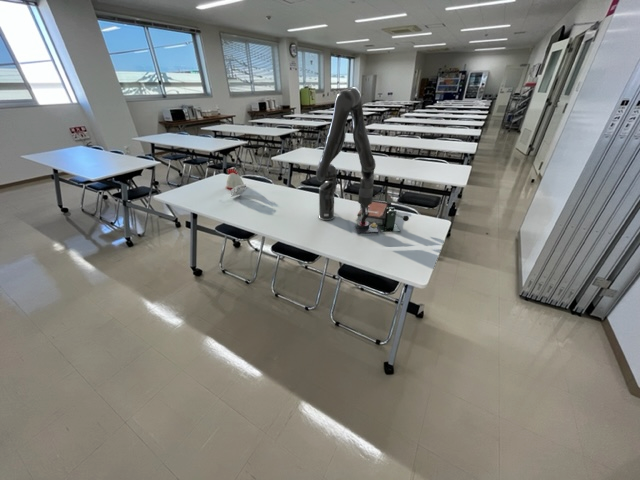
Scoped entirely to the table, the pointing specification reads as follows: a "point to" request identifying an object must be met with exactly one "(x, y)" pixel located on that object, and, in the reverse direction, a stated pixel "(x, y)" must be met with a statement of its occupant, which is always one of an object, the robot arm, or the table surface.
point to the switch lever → (402, 216)
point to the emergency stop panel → (365, 228)
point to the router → (238, 190)
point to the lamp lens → (373, 225)
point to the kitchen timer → (233, 180)
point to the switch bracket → (389, 221)
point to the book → (376, 211)
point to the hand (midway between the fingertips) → (363, 223)
